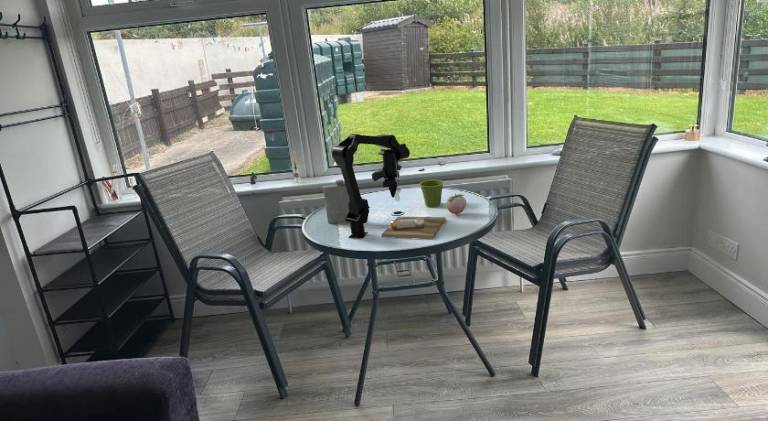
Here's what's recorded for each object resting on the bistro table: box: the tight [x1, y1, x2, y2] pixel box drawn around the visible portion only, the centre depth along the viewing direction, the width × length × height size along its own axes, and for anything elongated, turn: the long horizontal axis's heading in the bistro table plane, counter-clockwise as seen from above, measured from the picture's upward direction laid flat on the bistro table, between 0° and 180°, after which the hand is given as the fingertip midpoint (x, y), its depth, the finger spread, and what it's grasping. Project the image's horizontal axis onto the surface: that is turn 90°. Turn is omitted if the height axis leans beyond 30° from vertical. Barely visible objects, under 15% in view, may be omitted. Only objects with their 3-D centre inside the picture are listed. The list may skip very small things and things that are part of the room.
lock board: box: [381, 216, 447, 240], centre depth 217 cm, size 22×22×2 cm
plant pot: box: [418, 179, 445, 208], centre depth 244 cm, size 12×12×11 cm
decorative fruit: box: [445, 193, 467, 216], centre depth 227 cm, size 9×8×10 cm
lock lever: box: [390, 218, 424, 229], centre depth 214 cm, size 14×4×3 cm, turn 84°
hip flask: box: [322, 178, 357, 225], centre depth 233 cm, size 16×4×20 cm, turn 80°
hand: (393, 197), depth 227 cm, fingers closed
